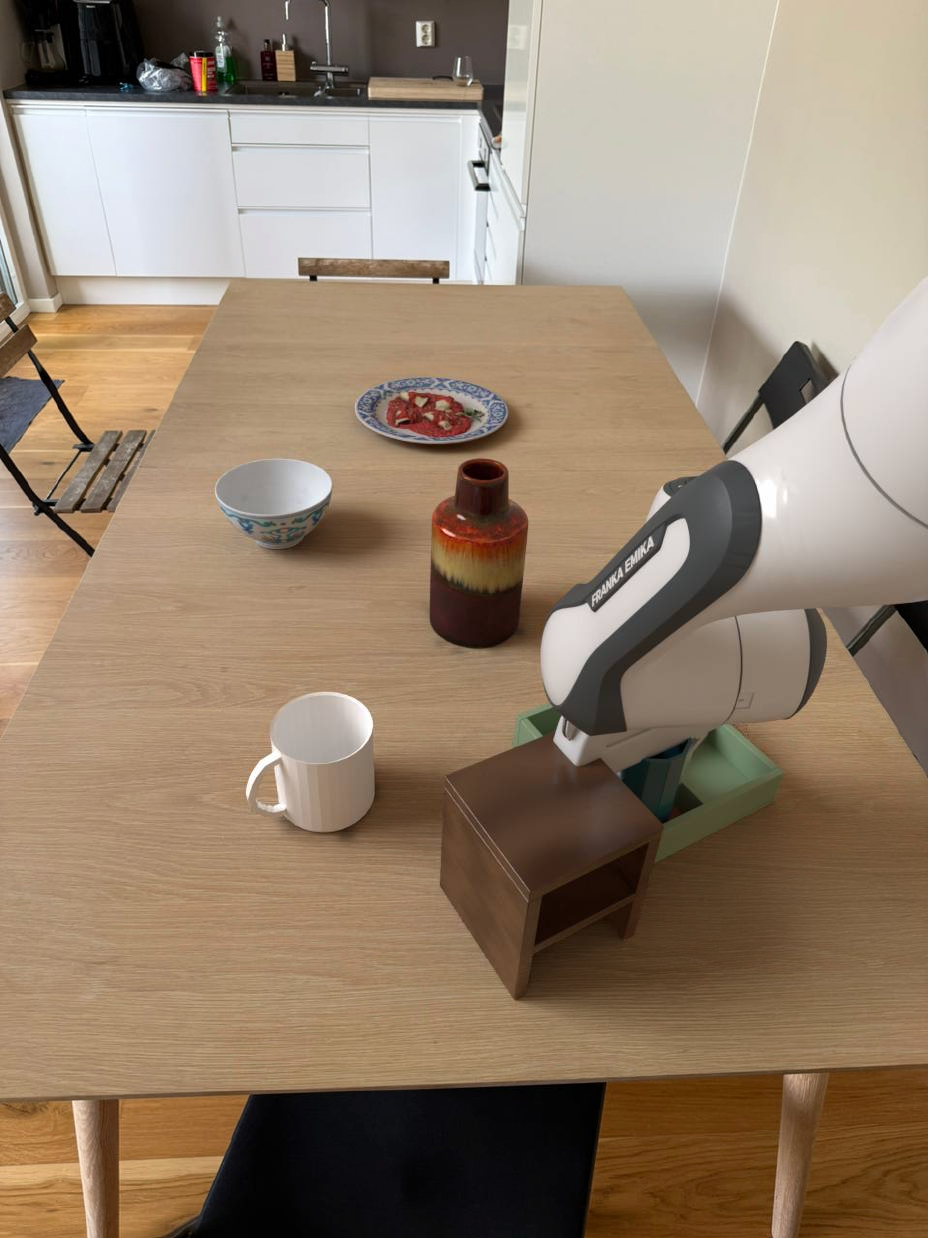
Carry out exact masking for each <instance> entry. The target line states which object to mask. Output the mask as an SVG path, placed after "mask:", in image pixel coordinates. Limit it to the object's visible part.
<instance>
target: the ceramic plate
mask: <svg viewBox="0 0 928 1238" xmlns="http://www.w3.org/2000/svg"><path fill="white" fill-rule="evenodd" d="M354 413H355V415H356V416H355V417H357V419H358V420H359V422H360V423H361V424H363V426H365V427H366V428H368V429H369V430H371V431H373V432H375V433H376V434H379V435H382V436H385V437H388V438H390V439H394V440H398V441H403V442H408V443H415V444H424V445H448V444H459V443H465V442H470V441H475V440H477V439H481V438H484V437H486V436H489V435H491V434H493V433H494V432H496V431H498V430H499V429H500V428H502V426H504V424H505V423H506V422H507V419H508V417H509V408H508V406H507V403H506V402H505V400H503V399H502V398H501V397H500V396H499V395H498V394H497V393H495V392H493V391H491V390H489V389H488V388H486V387H484V386H481V385H479V384H475V383H472V382H468V381H464V380H459V379H454V378H447V377H434V376H432V377H431V376H421V377H407V378H400V379H394V380H389V381H386V382H383V383H380V384H378V385H374V386H373V387H370V388H369V389H367V390H366V391H364V392H363V393H361V395H360V396H358V398H357V399H356V401H355V404H354Z"/></svg>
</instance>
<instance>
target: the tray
mask: <svg viewBox="0 0 928 1238" xmlns="http://www.w3.org/2000/svg"><path fill="white" fill-rule="evenodd" d="M561 716H562V715H561V714H560V713H558V712H557V711H556V710H555V709H554V708H553V706H552V705H551V704H550V702H549V701H548V702H546V703H544V704H542V705H538V706H536V707H534V708H531V709H528V710H526V711H523V712H520V713H518V714H516V715H515V723H514V732H513V741H512V746H513V748H515V747H517V746H520V745H522V744H525V743H527V742H530V741H532V740H535V739H537V738H540V737H542V736H545V735H547V734H549V733H552V732H554V731H556V729H557V726H558V723H559V720H560V718H561ZM785 774H786V772H785V771H784V770H783V769H782V768H781V767H779V766H778V765H777V764H776V763H775V762H774V761H773V760H772V759H771V758H770V757H768V756H767V755H766V754H765V753H764V752H763V751H761V750H760V749H759V748H758V747H757V746H756V745H754V743H753V742H751V741H750V740H749V739H748V738H747V737H746V736H745V735H744V734H742V733H741V732H740V731H739V730H738V729H737V728H736V727H734V726H733V724H725V725H722V726H720V727H718V728H716V729H713V730H711V731H709V732H708V734H707V736H706V737H705V738H704V739H703V741H702V742H701V743H700V744H699V745H698V747H697V748H696V749H695V750H694V751H693V753H692V756H691V760H690V762H689V763H687V765H686V768H685V772H684V775H683V779H682V782H681V786H680V789H679V793H678V796H677V800H676V803H675V807H674V810H673V813H672V815H671V817H670V819H669V821H668V822H666V823H664V824H663V825H664V829H663V833H662V836H661V840H660V844H659V848H658V851H657V855H656V858H655V862H654V864H656V863H658V862H660V861H662V860H663V859H666V858H668V857H670V856H672V855H673V854H675V853H678V852H679V851H681V850H683V849H686V848H687V847H689V846H692V845H694V844H695V843H697V842H699V841H701V840H703V839H705V838H706V837H709V836H711V835H713V834H715V833H716V832H718V831H721V830H723V829H724V828H726V827H729V826H731V825H733V824H734V823H736V822H738V821H740V820H742V819H744V818H746V817H748V816H750V815H751V814H754V813H756V812H757V811H760V810H761V809H764V808H765V807H767V806H770V805H771V804H773V803H774V802H775V799H776V796H777V795H778V791H779V789H780V788H781V787H780V786H781V784H782V781H783V779H784V776H785Z"/></svg>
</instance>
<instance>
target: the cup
mask: <svg viewBox="0 0 928 1238" xmlns="http://www.w3.org/2000/svg"><path fill="white" fill-rule="evenodd" d="M691 747H692V738H688V739H687V741H686V742H684V743H682V744H680V745H677V746H675V747H673V748H671V749H669V750H666V751H664V752H662V753H660V754H657V755H655V756H653V757H651V758H647V757H646V758H643V759H642V760H641V762H639V763H637V764H635V765H633V766H630V767H628V768H626V769H624V770H621V771H619V772H618V774H617V776H618V777H619V778H620V779H621V780H622V781H623V782H624V783H625V785H626V786H627V787H628V788H629V789H630V790H631V791H632V792H633V793H634V794H635V795H636V796H637V797H638V798H639V800H640V801H641V802H642V803H643V804H644V805H645V806H646V807H647V808H648V809H649V810H650V811H651V812H652V813H653V815H654V816H655V817H656V818H657V819H658V820H659V821H660V822H661V823H662V824H664V823H666V822H668V821H669V819H670V817H671V815H672V813H673V810H674V807H675V803H676V800H677V796H678V793H679V789H680V786H681V782H682V779H683V775H684V772H685V768H686V765H687V761H688V758H689V754H690V750H691Z"/></svg>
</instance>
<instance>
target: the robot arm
mask: <svg viewBox="0 0 928 1238" xmlns="http://www.w3.org/2000/svg"><path fill="white" fill-rule="evenodd" d="M923 601H928V274H927V275H926V276H925V277H924V278H923V279H922V280H921V281H920V282H919V283H918V284H917V285H916V286H915V287H914V288H913V289H912V290H911V291H910V292H909V293H908V294H907V295H906V296H905V297H904V298H903V299H902V300H901V302H900V303H899V304H898V305H897V306H896V307H895V308H894V310H892V311H891V313H890V314H889V315H888V316H887V318H885V319H884V321H882V323H881V324H880V326H878V327H877V329H876V330H875V331H874V333H872V335H871V337H870V338H869V339H868V340H867V341H866V343H865V344H864V345H863V346H862V348H861V349H860V350H859V351H858V353H857V354H856V356H855V357H854V358H853V359H852V360H851V362H850V363H849V364H848V365H847V366H846V367H845V369H844V370H842V371H841V373H839V374H838V376H837V377H836V378H835V379H834V380H832V382H831V383H830V384H828V386H827V387H825V388H824V389H823V390H822V391H821V392H820V393H818V394H817V395H816V396H815V397H814V398H812V400H810V401H809V402H807V404H805V405H804V406H803V407H802V408H800V409H799V410H798V411H797V412H795V413H794V414H793V415H792V416H790V417H789V418H788V419H786V420H785V421H783V422H782V423H781V424H780V425H778V426H777V427H775V428H774V429H773V430H771V431H770V432H769V433H767V434H766V435H764V436H762V437H761V438H760V439H758V440H756V441H754V442H753V443H752V444H750V445H748V446H747V447H745V448H744V449H742V450H740V451H738V453H736V454H735V455H733V456H732V457H729V458H728V459H726V460H723V461H721V462H719V463H717V464H715V465H714V466H712V467H710V468H709V469H707V470H706V471H704V472H703V473H701V474H700V475H694V476H692V475H691V476H681V477H678V478H676V479H672V480H670V481H667V482H665V483H664V484H663V485H662V486H661V487H660V488H659V490H658V492H657V493H656V495H655V497H654V498H653V501H652V503H651V506H650V508H649V510H648V513H647V516H646V519H645V522H644V524H643V525H642V526H641V527H640V528H639V529H638V530H637V532H635V534H633V535H632V536H631V538H630V539H629V540H628V541H627V542H626V543H625V544H624V545H623V547H621V549H619V551H618V552H617V553H616V554H615V555H614V556H613V557H612V558H611V559H610V560H609V561H608V562H607V563H606V565H604V567H602V569H601V570H600V571H599V572H598V573H597V574H596V575H595V576H594V577H593V578H592V579H590V580H589V581H588V582H586V583H582V582H581V583H579V582H578V583H576V584H575V585H574V586H572V587H571V588H570V589H569V590H568V591H567V592H566V593H565V594H564V595H562V596H561V598H560V599H559V600H558V601H557V602H556V604H555V605H554V606H553V607H552V608H551V610H550V611H549V613H548V615H547V617H546V619H545V622H544V625H543V630H542V637H541V641H540V642H541V643H540V654H539V655H540V657H539V659H540V672H541V679H542V685H543V689H544V693H545V696H546V698H547V700H548V703H549V702H550V704H551V705H552V706H553V708H554V709H555V710H556V711H557V712H558V713H560V714H561V715H562V716H561V718H560V720H559V723H558V726H557V729H556V733H555V736H554V739H553V741H554V742H555V744H556V745H557V746H558V747H559V748H560V749H561V751H562V752H563V753H564V754H565V755H566V756H567V757H568V758H569V759H570V760H571V762H572V763H573V764H574V765H576V766H582V765H585V764H588V763H590V762H592V761H594V760H596V759H598V758H601V759H602V760H603V761H604V762H605V763H606V764H607V765H608V766H609V767H610V768H611V770H612V771H613V772H614V773H615V774H616V775H617V774H618V772H619V771H621V770H624V769H626V768H628V767H630V766H633V765H635V764H637V763H639V762H641V760H642V759H643V758H646V757H647V758H651V757H653V756H655V755H657V754H660V753H662V752H664V751H666V750H669V749H671V748H673V747H675V746H677V745H680V744H682V743H684V742H686V741H687V739H688V738H692V747H691V750H690V754H689V758H688V761H687V763H689V762H690V760H691V756H692V753H693V751H694V750H695V749H696V748H697V747H698V745H699V744H700V743H701V742H702V741H703V739H704V738H705V737H706V736H707V734H708V732H709V731H711V730H713V729H716V728H718V727H720V726H722V725H725V724H731V725H739V724H754V723H755V724H756V723H769V722H775V721H781V720H783V721H787V720H789V719H792V718H793V717H794V716H795V715H797V714H798V713H799V712H800V711H801V710H802V709H804V707H805V706H806V704H808V701H809V700H810V699H811V697H812V696H813V694H814V692H815V690H816V688H817V686H818V684H819V682H820V679H821V676H822V673H823V670H824V667H825V663H826V658H827V653H828V635H827V628H826V624H825V622H824V620H823V618H822V616H821V613H820V612H819V611H818V609H829V608H851V607H870V606H871V607H872V606H888V605H889V606H890V605H900V604H901V605H902V604H909V603H917V602H923ZM568 739H570V741H569V740H568Z"/></svg>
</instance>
